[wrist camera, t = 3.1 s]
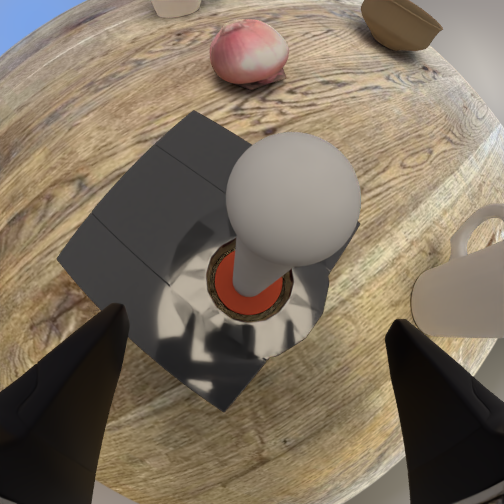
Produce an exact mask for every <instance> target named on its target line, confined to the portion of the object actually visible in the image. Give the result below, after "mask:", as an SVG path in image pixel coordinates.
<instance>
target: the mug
mask: <svg viewBox="0 0 504 504" xmlns="http://www.w3.org/2000/svg"><path fill="white" fill-rule="evenodd" d="M490 218H499V219H502V220H503V221H504V204H499V203H494V204H488V205H486V206H483V207H481V208H480V209H478V210H477V211H476V212H474V213H473V214H472V215H471V216H470V217H469V218H468V219H467V220H466V221H465V222H464V223H463V225H462V226H461V227H460V228H459V229H458V230H457V231H456V232H455V233H454V234H453V236H452V237H451V239H450V243H451V256H450V259H449V261H448V262H447V263H444V264H442V265H439V266H436V267H434V268H431V269H428V270H426V271H425V272H423V273H422V274H421V275H420V276H419V278H418V279H417V281H416V283H415V285H414V288H413V292H412V299H411V307H412V313H413V317H414V320H415V322H416V324H417V326H418V327H419V329H420V330H421V331H422V332H423V333H425V334H427V335H430V336H440V337H462V338H504V240H503V241H500V242H498V243H496V244H493V245H491V246H489V247H486V248H484V249H481V250H479V251H476V252H474V253H471V254H469V255H468V254H467V243H468V240H469V238H470V236H471V234H472V232H473V231H474V230H475V229H476V228H477V227H478V226H479V225H480V224H481V223H482V222H484V221H485V220H487V219H490Z"/></svg>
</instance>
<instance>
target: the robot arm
mask: <svg viewBox="0 0 504 504" xmlns="http://www.w3.org/2000/svg"><path fill="white" fill-rule="evenodd" d="M129 329H130V322H129V318H128V315H127V311H126V307H125V305H124V304H120V303H111V304H110V305H108V306H107V307H106V308H104V309H103V310H102V311H101V312H99V313H98V314H97V315H95V316H94V317H93V318H92V319H90V320H89V321H88V322H87V323H85V324H84V325H83V326H81V327H80V328H79V329H78V330H76V331H75V332H74V333H73V334H71V335H70V336H69V337H68V338H66V339H65V340H64V341H63V342H62V343H60V344H59V345H58V346H57V347H55V348H54V349H53V350H52V351H51V352H49V353H48V354H47V355H46V356H45V357H43V358H42V359H41V360H40V361H39V362H38V363H37V364H35V365H34V366H33V367H32V368H30V369H29V370H28V371H27V372H26V373H24V374H23V375H22V376H21V377H20V378H18V379H17V380H16V381H14V382H13V383H12V384H10V385H9V386H8V387H6V388H5V389H4V390H2V391H1V392H0V504H91V502H92V495H93V489H94V482H95V476H96V474H95V473H96V470H97V465H98V459H99V454H100V450H101V445H102V440H103V436H104V432H105V427H106V423H107V419H108V415H109V411H110V407H111V404H112V400H113V396H114V393H115V389H116V386H117V382H118V379H119V376H120V372H121V368H122V363H123V358H124V353H125V348H126V343H127V338H128V333H129ZM385 344H386V350H387V356H388V362H389V369H390V376H391V381H392V385H393V390H394V394H395V399H396V403H397V408H398V413H399V418H400V423H401V429H402V435H403V441H404V447H405V454H406V461H407V469H408V479H409V490H410V504H504V402H503V401H501V400H500V399H499V398H498V397H497V396H495V395H494V394H493V393H492V392H490V391H489V390H488V389H486V388H485V387H484V386H483V385H482V384H481V383H480V382H479V381H477V380H476V379H475V378H474V377H473V376H471V374H470V373H469V372H467V371H466V370H465V369H464V368H463V367H462V366H461V365H460V364H458V363H457V362H456V361H455V360H454V359H453V358H452V357H450V356H449V355H448V354H447V353H446V352H445V351H443V350H442V349H441V348H440V347H439V346H438V345H436V344H435V343H434V342H433V341H432V340H430V339H429V338H428V337H427V336H426V335H424V334H423V333H422V332H421V331H420V330H418V329H417V328H416V327H415V326H414V325H412V324H411V323H410V322H409V321H407V320H406V319H396V320H395V321H394V322H393V323H392V325H391V327H390V329H389V330H388V332H387V334H386V336H385Z"/></svg>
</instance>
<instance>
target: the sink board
mask: <svg viewBox="0 0 504 504" xmlns="http://www.w3.org/2000/svg"><path fill="white" fill-rule="evenodd" d="M251 146H252V145H251V144H250V143H248V142H247V141H245V140H244V139H242V138H240V137H239V136H237V135H236V134H234V133H232V132H231V131H229V130H227V129H226V128H224V127H222V126H221V125H219V124H217V123H216V122H214V121H212V120H210V119H209V118H207V117H205V116H203V115H202V114H200V113H198V112H196V111H195V110H193V111H192V112H191V113H189V114H188V115H187V116H186V117H185V118H183V119H182V120H181V121H180V122H179V123H178V124H176V125H175V126H174V127H173V128H172V129H171V130H170V131H168V132H167V133H166V134H165V135H164V136H163V137H162V138H161V139H160V140H159V141H157V142H156V143H155V144H154V145H153V146H152V147H151V148H150V149H149V150H148V151H147V152H146V153H145V154H144V155H143V156H142V157H141V158H140V159H139V160H138V161H137V162H136V163H135V164H134V165H133V166H132V167H131V168H130V169H129V170H128V171H127V172H126V173H125V174H124V175H123V176H122V177H121V178H120V180H119V181H118V182H117V183H116V184H115V185H114V186H113V187H112V188H111V189H110V191H109V192H108V193H107V194H106V195H105V196H104V197H103V199H102V200H101V201H100V202H99V203H98V204H97V206H96V207H95V208H94V209H93V210H92V212H91V213H90V214H89V216H88V217H87V218H86V219H85V221H84V222H83V223H82V224H81V226H80V227H79V228H78V230H77V231H76V232H75V234H74V235H73V236H72V238H71V239H70V240H69V242H68V243H67V244H66V246H65V247H64V249H63V250H62V251H61V253H60V254H59V256H58V257H57V260H58V262H59V263H60V264H61V265H62V267H63V268H64V269H65V270H66V272H67V273H68V274H69V275H70V276H71V278H72V279H73V280H74V281H75V282H76V283H77V285H78V286H79V287H80V288H81V289H82V290H83V291H84V293H85V294H86V295H87V296H88V297H89V298H90V299H91V300H92V301H93V302H94V303H95V305H96V306H97V307H98V308H99V309H100V310H101V311H102V310H103V309H104V308H106V307H107V306H108V305H110V304H111V303H120V304H124V305H125V307H126V311H127V315H128V318H129V322H130V329H129V333H128V337H129V338H130V339H131V340H132V341H133V342H134V343H135V344H136V345H137V346H138V347H140V348H141V349H142V350H143V351H144V352H145V353H146V354H148V355H149V356H150V357H151V358H152V359H153V360H155V361H156V362H157V363H158V364H159V365H160V366H162V367H163V368H164V369H165V370H167V371H168V372H169V373H170V374H172V375H173V376H174V377H175V378H177V379H178V380H179V381H181V382H182V383H183V384H184V385H186V386H187V387H188V388H190V389H191V390H192V391H194V392H195V393H197V394H198V395H199V396H201V397H202V398H203V399H205V400H206V401H208V402H209V403H211V404H212V405H214V406H215V407H216V408H218V409H219V410H221V411H222V412H225V411H226V410H227V409H228V408H229V407H230V406H231V404H232V403H233V402H234V401H235V400H236V399H237V397H238V396H239V395H240V394H241V393H242V391H243V390H244V389H245V388H246V387H247V385H248V384H249V383H250V382H251V380H252V379H253V378H254V377H255V376H256V374H257V373H258V372H259V371H260V369H261V368H262V367H263V365H264V364H265V363H266V360H268V359H269V358H270V357H275V356H277V355H280V354H282V353H283V352H285V351H287V350H288V349H290V348H292V347H293V346H295V345H296V344H298V343H299V342H301V341H303V340H304V339H305V338H306V337H307V336H308V334H309V333H310V331H311V330H312V328H313V327H314V326H315V324H316V323H317V321H318V320H319V318H320V317H321V315H322V314H323V310H324V306H325V301H326V297H327V292H328V287H329V278H328V275H329V274H330V272H331V271H332V269H333V268H334V266H335V264H336V263H337V261H338V260H339V258H340V257H341V255H342V253H343V252H344V250H345V249H346V247H347V245H348V244H349V242H350V241H351V239H352V237H353V236H354V234H355V232H356V231H357V229H358V227H359V226H360V223H359V222H358V221H357V224H356V227H355V229H354V231H353V233H352V235H351V236H350V238H349V239H348V240H347V242H346V243H345V244H344V245H343V246H342V247H341V248H340V249H339V250H338V251H337V252H336V253H334V254H333V255H331V256H330V257H328V258H326V259H324V260H322V261H320V262H317V263H314V264H311V265H307V266H297V267H293V268H292V269H291V270H289V271H288V272H287V273H285V274H284V277H285V283H286V287H285V291H284V295H283V299H282V301H281V302H280V303H279V305H278V306H277V308H276V309H275V310H274V312H272V313H270V314H269V315H267V316H265V317H264V318H262V319H259V320H252V321H242V320H238V319H235V318H231V317H229V316H228V315H227V314H225V313H224V312H223V311H222V310H220V309H219V308H218V306H217V305H216V303H215V301H214V299H213V297H212V296H211V290H210V282H209V279H210V276H211V272H212V269H213V265H214V264H215V263H216V262H217V260H218V259H219V258H220V257H221V256H222V254H224V253H226V252H228V251H229V250H231V249H233V248H235V247H236V237H237V234H236V233H235V231H234V229H233V227H232V225H231V223H230V220H229V217H228V212H227V207H226V190H227V184H228V180H229V177H230V174H231V172H232V170H233V167H234V166H235V164H236V162H237V161H238V159H239V158H240V157H241V156H242V155H243V153H244V152H245V151H246V150H247V149H248V148H250V147H251Z"/></svg>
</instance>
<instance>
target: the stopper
mask: <svg viewBox="0 0 504 504" xmlns="http://www.w3.org/2000/svg"><path fill="white" fill-rule="evenodd" d="M226 207H227V212H228V217H229V220H230V223H231V225H232V227H233V229H234V231H235V233H236V234H237V237H236V248H235V251H233V252H231V253H230V254H228V255H227V256H226V257H225V258H224V259H223V260H222V261H221V262H220V264H219V266H218V268H217V270H216V274H215V288H216V292H217V294H218V296H219V298H220V300H221V302H222V303H223V304H224V305H225V306H226V307H227V308H228V309H230V310H231V311H233V312H235V313H238V314H242V315H255V314H259V313H262V312H264V311H266V310H267V309H269V308H270V307H271V306H272V305H273V304H274V303H275V302H276V301H277V299H278V298H279V295H280V293H281V290H282V282H283V281H282V276H283V275H284V274H285V273H287V272H288V271H289V270H291V269H292V268H293V267H297V266H307V265H311V264H314V263H317V262H320V261H322V260H324V259H326V258H328V257H330V256H331V255H333V254H334V253H336V252H337V251H338V250H339V249H340V248H341V247H342V246H343V245H344V244H345V243H346V242H347V240H348V239H349V238H350V236H351V235H352V233H353V231H354V229H355V227H356V224H357V221H358V218H359V215H360V209H361V192H360V186H359V182H358V179H357V176H356V174H355V171H354V169H353V167H352V165H351V164H350V162H349V161H348V160H347V158H346V157H345V156H344V155H343V154H342V153H341V152H340V151H339V150H338V149H337V148H336V147H334V146H333V145H332V144H330V143H329V142H327V141H325V140H323V139H321V138H319V137H317V136H314V135H311V134H307V133H301V132H284V133H278V134H274V135H271V136H268V137H266V138H264V139H261V140H260V141H258V142H257V143H255V144H254V145H252V146H251V147H250V148H248V149H247V150H246V151H245V152H244V153H243V155H242V156H241V157H240V158H239V159H238V161H237V162H236V164H235V166H234V167H233V170H232V172H231V174H230V177H229V180H228V184H227V190H226Z"/></svg>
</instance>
